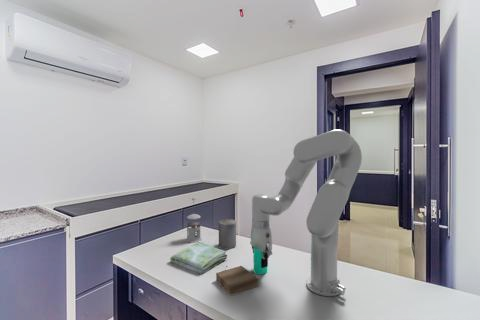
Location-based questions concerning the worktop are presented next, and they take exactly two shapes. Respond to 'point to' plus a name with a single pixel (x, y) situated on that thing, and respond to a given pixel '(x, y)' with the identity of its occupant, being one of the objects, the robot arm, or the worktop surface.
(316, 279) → the robot arm
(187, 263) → the towel
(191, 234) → the french press
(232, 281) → the walnut base
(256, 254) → the candle
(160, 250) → the worktop surface
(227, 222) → the pillar candle
